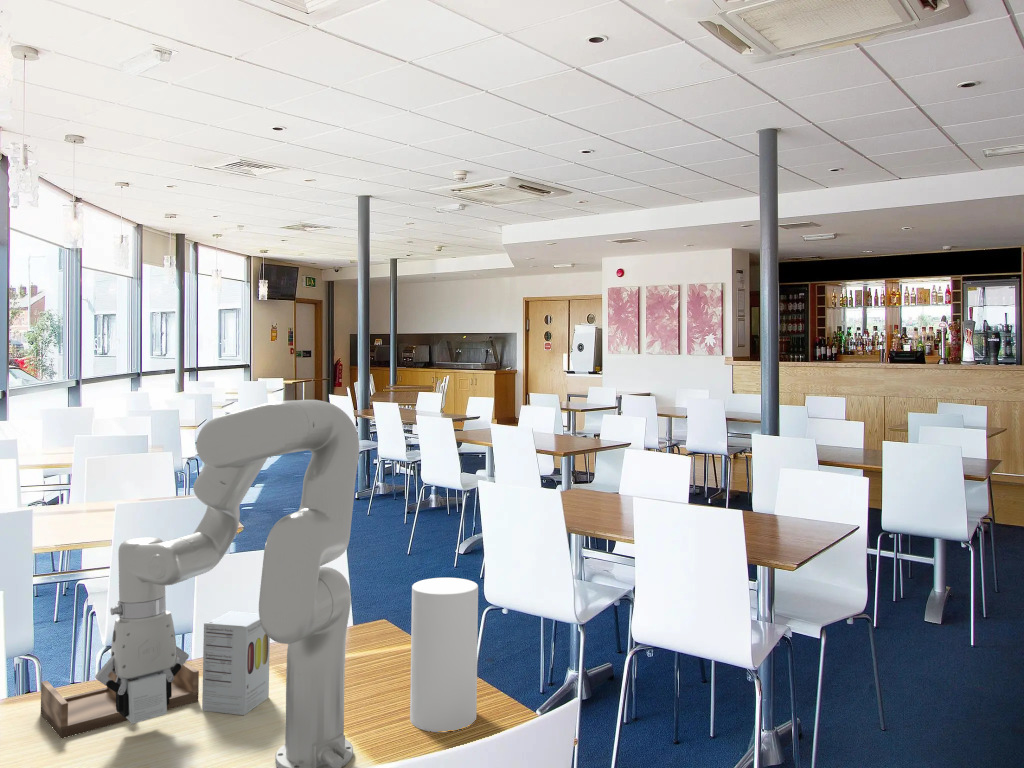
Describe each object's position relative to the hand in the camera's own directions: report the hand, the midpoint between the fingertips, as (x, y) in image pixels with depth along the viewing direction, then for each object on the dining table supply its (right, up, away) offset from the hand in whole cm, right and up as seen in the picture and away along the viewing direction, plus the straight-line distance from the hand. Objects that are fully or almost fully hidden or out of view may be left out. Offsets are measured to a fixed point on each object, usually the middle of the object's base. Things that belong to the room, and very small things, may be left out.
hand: (144, 707), depth 139 cm
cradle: (-9, -4, +10) cm, 15 cm away
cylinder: (+53, -5, +8) cm, 54 cm away
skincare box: (0, -1, 0) cm, 1 cm away
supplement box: (+12, -5, +13) cm, 18 cm away
